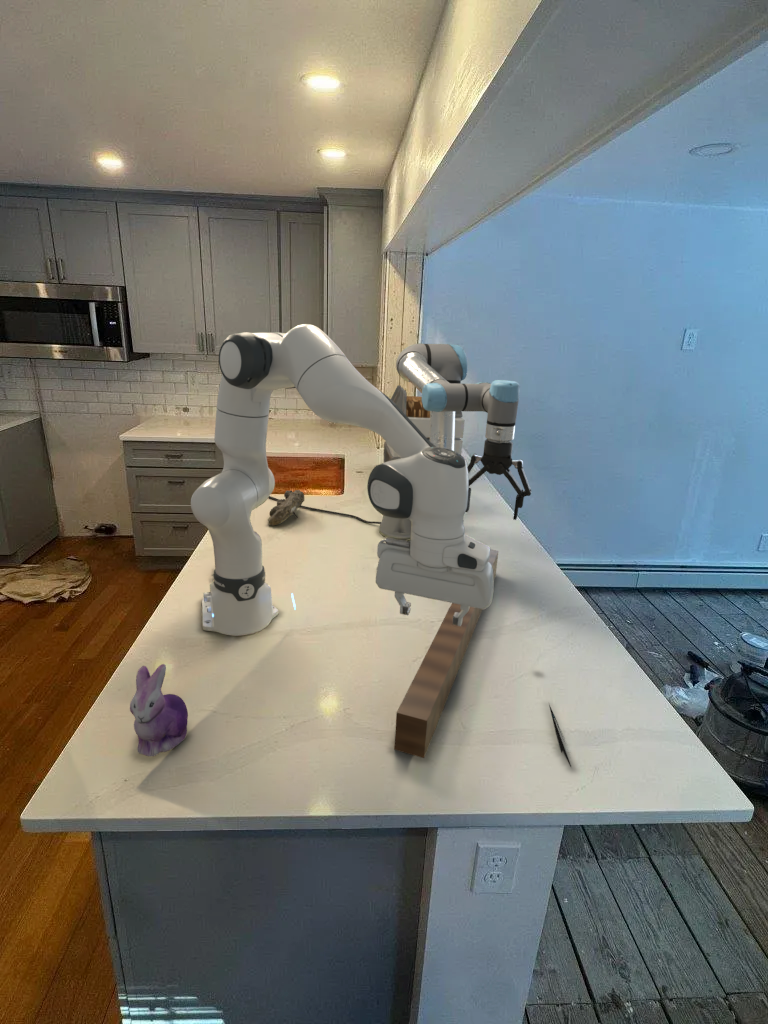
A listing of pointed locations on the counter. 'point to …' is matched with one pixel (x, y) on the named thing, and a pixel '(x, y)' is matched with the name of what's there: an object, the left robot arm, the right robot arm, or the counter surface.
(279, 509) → the fossil
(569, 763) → the feather
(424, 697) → the bar
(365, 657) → the counter surface
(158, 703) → the figurine
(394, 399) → the transformer
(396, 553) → the left robot arm
